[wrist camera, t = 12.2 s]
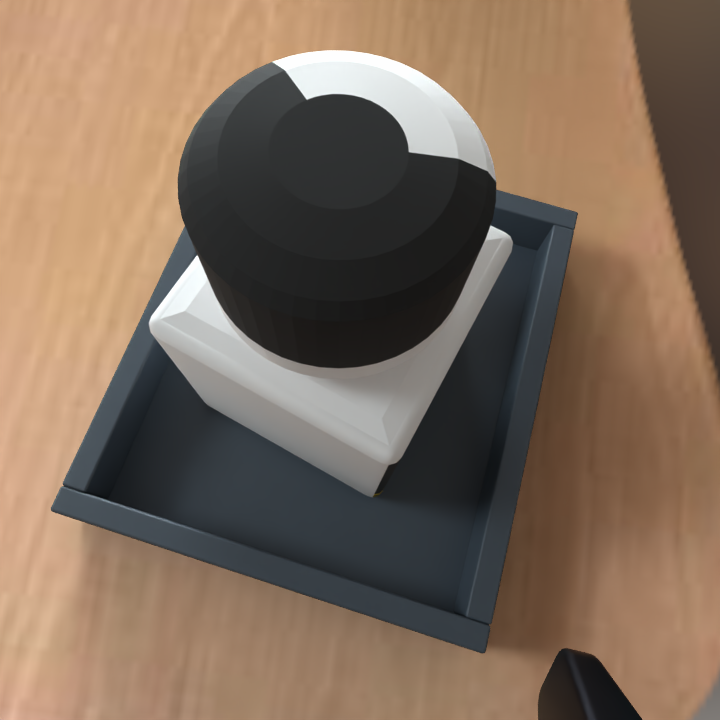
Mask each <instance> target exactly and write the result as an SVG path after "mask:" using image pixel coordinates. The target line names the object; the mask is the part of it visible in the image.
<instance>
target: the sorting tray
mask: <svg viewBox="0 0 720 720" xmlns="http://www.w3.org/2000/svg"><path fill="white" fill-rule="evenodd" d="M577 215H578V213H577V212H575V211H571V210H567V209H564V208H560V207H557V206H553V205H549V204H546V203H542V202H539V201H535V200H531V199H528V198H524V197H521V196H517V195H513V194H510V193H506V192H503V191H499V190H496V204H495V209H494V215H493V220H492V223H491V226H493V227H495V228H497V229H499V230H501V231H503V232H505V233H507V234H508V235H509V236H510V237H511V239H512V241H513V246H512V252H511V253H510V255H509V257H508V259H507V261H506V263H505V265H504V267H503V268H502V270H501V272H500V274H499V276H498V278H497V280H496V282H495V283H494V285H493V287H492V289H491V291H490V293H489V295H488V297H487V298H486V300H485V302H484V304H483V306H482V308H481V310H480V312H479V313H478V315H477V317H476V319H475V321H474V323H473V325H472V327H471V328H470V330H469V332H468V334H467V336H466V338H465V340H464V342H463V343H462V345H461V347H460V349H459V351H458V353H457V355H456V357H455V358H454V360H453V362H452V364H451V366H450V368H449V370H448V372H447V373H446V375H445V377H444V379H443V381H442V383H441V385H440V387H439V388H438V390H437V392H436V394H435V396H434V398H433V400H432V402H431V403H430V405H429V407H428V409H427V411H426V413H425V415H424V417H423V418H422V420H421V422H420V424H419V426H418V428H417V430H416V432H415V433H414V435H413V437H412V439H411V441H410V443H409V445H408V447H407V448H406V450H405V452H404V454H403V456H402V458H401V460H400V461H399V463H398V465H397V467H396V468H395V470H394V472H393V473H392V475H391V477H390V479H389V480H388V482H387V484H386V486H385V487H384V489H383V491H382V492H381V493H380V494H379V495H378V496H376V497H369V496H366V495H364V494H363V493H361V492H359V491H357V490H356V489H354V488H352V487H350V486H349V485H347V484H345V483H343V482H342V481H340V480H338V479H336V478H335V477H333V476H331V475H329V474H328V473H326V472H324V471H322V470H321V469H319V468H317V467H315V466H313V465H312V464H310V463H308V462H306V461H305V460H303V459H301V458H299V457H298V456H296V455H294V454H292V453H291V452H289V451H287V450H285V449H284V448H282V447H280V446H278V445H277V444H275V443H273V442H271V441H270V440H268V439H266V438H264V437H263V436H261V435H259V434H257V433H256V432H254V431H252V430H250V429H249V428H247V427H245V426H243V425H242V424H240V423H238V422H236V421H234V420H233V419H231V418H229V417H227V416H226V415H224V414H222V413H220V412H219V411H217V410H215V409H213V408H212V407H210V406H208V405H207V404H206V403H205V402H204V401H203V400H202V398H201V397H200V396H199V394H198V393H197V392H196V391H195V389H194V388H193V387H192V385H191V384H190V383H189V381H188V380H187V379H186V378H185V376H184V375H183V374H182V372H181V371H180V370H179V369H178V367H177V366H176V365H175V363H174V362H173V361H172V359H171V358H170V357H169V356H168V354H167V353H166V352H165V350H164V349H163V348H162V346H161V345H160V344H159V343H158V341H157V340H156V339H155V337H154V336H153V335H152V334H151V332H150V327H149V321H150V319H151V316H152V315H153V314H154V312H155V311H156V310H157V308H158V307H159V306H160V304H161V303H162V302H163V300H164V299H165V298H166V296H167V295H168V293H169V292H170V291H171V289H172V288H173V287H174V285H175V284H176V283H177V281H178V280H179V279H180V277H181V276H182V275H183V273H184V272H185V271H186V269H187V268H188V267H189V265H190V264H191V263H192V261H193V260H194V259H195V257H196V256H197V253H196V251H195V248H194V246H193V244H192V242H191V239H190V237H189V235H188V232H187V229H186V227H184V229H183V231H182V233H181V235H180V237H179V239H178V242H177V244H176V246H175V248H174V250H173V252H172V254H171V256H170V258H169V261H168V263H167V265H166V267H165V269H164V271H163V273H162V275H161V277H160V279H159V282H158V284H157V286H156V288H155V290H154V292H153V294H152V296H151V298H150V301H149V303H148V305H147V307H146V309H145V311H144V313H143V315H142V317H141V319H140V322H139V324H138V326H137V328H136V330H135V332H134V334H133V336H132V338H131V341H130V343H129V345H128V347H127V349H126V351H125V353H124V355H123V357H122V359H121V362H120V364H119V366H118V368H117V370H116V372H115V374H114V376H113V378H112V381H111V383H110V385H109V387H108V389H107V391H106V393H105V395H104V397H103V399H102V402H101V404H100V406H99V408H98V410H97V412H96V414H95V416H94V418H93V421H92V423H91V425H90V427H89V429H88V431H87V433H86V435H85V437H84V439H83V442H82V444H81V446H80V448H79V450H78V452H77V454H76V456H75V458H74V460H73V463H72V465H71V467H70V469H69V471H68V473H67V475H66V477H65V479H64V482H63V485H64V486H62V487H61V488H60V490H59V492H58V494H57V496H56V499H55V501H54V503H53V505H52V507H51V511H52V512H55V513H58V514H61V515H64V516H67V517H70V518H73V519H76V520H79V521H82V522H85V523H88V524H91V525H94V526H97V527H100V528H103V529H106V530H109V531H112V532H115V533H118V534H122V535H125V536H128V537H131V538H134V539H137V540H140V541H143V542H146V543H149V544H152V545H155V546H158V547H161V548H164V549H167V550H170V551H173V552H176V553H179V554H182V555H185V556H188V557H191V558H194V559H197V560H200V561H203V562H206V563H209V564H212V565H215V566H218V567H221V568H224V569H228V570H231V571H234V572H237V573H240V574H243V575H246V576H249V577H252V578H255V579H258V580H261V581H264V582H267V583H270V584H273V585H276V586H279V587H282V588H285V589H288V590H291V591H294V592H297V593H300V594H303V595H306V596H309V597H312V598H315V599H318V600H321V601H324V602H327V603H330V604H334V605H337V606H340V607H343V608H346V609H349V610H352V611H355V612H358V613H361V614H364V615H367V616H370V617H373V618H376V619H379V620H382V621H385V622H388V623H391V624H394V625H397V626H400V627H403V628H406V629H409V630H412V631H415V632H418V633H421V634H424V635H427V636H430V637H433V638H436V639H440V640H443V641H446V642H449V643H452V644H455V645H458V646H461V647H464V648H467V649H470V650H473V651H476V652H479V653H485V651H486V647H487V643H488V638H489V633H490V626H489V625H490V624H491V623H492V619H493V615H494V610H495V605H496V600H497V595H498V591H499V586H500V581H501V576H502V572H503V567H504V562H505V557H506V553H507V548H508V543H509V538H510V534H511V529H512V524H513V519H514V514H515V510H516V505H517V500H518V495H519V491H520V486H521V481H522V476H523V472H524V467H525V462H526V457H527V453H528V448H529V443H530V438H531V433H532V429H533V424H534V419H535V414H536V410H537V405H538V400H539V395H540V391H541V386H542V381H543V376H544V372H545V367H546V362H547V357H548V352H549V348H550V343H551V338H552V333H553V329H554V324H555V319H556V314H557V310H558V305H559V300H560V295H561V291H562V286H563V281H564V276H565V271H566V267H567V262H568V257H569V252H570V248H571V243H572V238H573V233H574V229H575V224H576V220H577Z"/></svg>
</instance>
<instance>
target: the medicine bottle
mask: <svg viewBox="0 0 720 720" xmlns="http://www.w3.org/2000/svg"><path fill="white" fill-rule="evenodd" d="M178 199H179V204H180V210H181V215H182V219H183V221H184V224H185V227H186V229H187V232H188V235H189V237H190V239H191V242H192V244H193V246H194V248H195V251H196V253H197V256H196V257H195V259H194V260H193V261H192V263H191V264H190V265H189V267H188V268H187V269H186V271H185V272H184V273H183V275H182V276H181V277H180V279H179V280H178V281H177V283H176V284H175V285H174V287H173V288H172V289H171V291H170V292H169V293H168V295H167V296H166V298H165V299H164V300H163V302H162V303H161V304H160V306H159V307H158V308H157V310H156V311H155V312H154V314H153V315H152V316H151V319H150V321H149V327H150V332H151V334H152V335H153V336H154V337H155V339H156V340H157V341H158V343H159V344H160V345H161V346H162V348H163V349H164V350H165V352H166V353H167V354H168V356H169V357H170V358H171V359H172V361H173V362H174V363H175V365H176V366H177V367H178V369H179V370H180V371H181V372H182V374H183V375H184V376H185V378H186V379H187V380H188V381H189V383H190V384H191V385H192V387H193V388H194V389H195V391H196V392H197V393H198V394H199V396H200V397H201V398H202V400H203V401H204V402H205V403H206V404H207V405H208V406H210V407H212V408H213V409H215V410H217V411H219V412H220V413H222V414H224V415H226V416H227V417H229V418H231V419H233V420H234V421H236V422H238V423H240V424H242V425H243V426H245V427H247V428H249V429H250V430H252V431H254V432H256V433H257V434H259V435H261V436H263V437H264V438H266V439H268V440H270V441H271V442H273V443H275V444H277V445H278V446H280V447H282V448H284V449H285V450H287V451H289V452H291V453H292V454H294V455H296V456H298V457H299V458H301V459H303V460H305V461H306V462H308V463H310V464H312V465H313V466H315V467H317V468H319V469H321V470H322V471H324V472H326V473H328V474H329V475H331V476H333V477H335V478H336V479H338V480H340V481H342V482H343V483H345V484H347V485H349V486H350V487H352V488H354V489H356V490H357V491H359V492H361V493H363V494H364V495H366V496H369V497H376V496H378V495H379V494H380V493H381V492H382V491H383V489H384V487H385V486H386V484H387V482H388V480H389V479H390V477H391V475H392V473H393V472H394V470H395V468H396V467H397V465H398V463H399V461H400V460H401V458H402V456H403V454H404V452H405V450H406V448H407V447H408V445H409V443H410V441H411V439H412V437H413V435H414V433H415V432H416V430H417V428H418V426H419V424H420V422H421V420H422V418H423V417H424V415H425V413H426V411H427V409H428V407H429V405H430V403H431V402H432V400H433V398H434V396H435V394H436V392H437V390H438V388H439V387H440V385H441V383H442V381H443V379H444V377H445V375H446V373H447V372H448V370H449V368H450V366H451V364H452V362H453V360H454V358H455V357H456V355H457V353H458V351H459V349H460V347H461V345H462V343H463V342H464V340H465V338H466V336H467V334H468V332H469V330H470V328H471V327H472V325H473V323H474V321H475V319H476V317H477V315H478V313H479V312H480V310H481V308H482V306H483V304H484V302H485V300H486V298H487V297H488V295H489V293H490V291H491V289H492V287H493V285H494V283H495V282H496V280H497V278H498V276H499V274H500V272H501V270H502V268H503V267H504V265H505V263H506V261H507V259H508V257H509V255H510V253H511V252H512V246H513V241H512V239H511V237H510V236H509V235H508V234H507V233H505V232H503V231H501V230H499V229H497V228H495V227H493V226H491V223H492V220H493V215H494V209H495V204H496V177H495V171H494V164H493V161H492V158H491V155H490V152H489V148H488V146H487V144H486V142H485V140H484V138H483V136H482V134H481V132H480V130H479V128H478V127H477V125H476V124H475V123H474V121H473V120H472V118H471V117H470V115H469V114H468V113H467V112H466V111H465V110H464V109H463V107H462V106H461V105H460V104H459V103H458V102H457V101H456V100H455V99H454V98H453V97H452V96H451V95H450V94H449V93H448V92H447V91H446V90H444V89H443V88H442V87H441V86H440V85H438V84H437V83H436V82H434V81H433V80H431V79H430V78H428V77H427V76H425V75H424V74H422V73H420V72H418V71H416V70H414V69H412V68H410V67H408V66H406V65H404V64H402V63H399V62H396V61H393V60H390V59H388V58H385V57H380V56H376V55H372V54H368V53H360V52H353V51H318V52H308V53H303V54H298V55H293V56H289V57H286V58H283V59H280V60H276V61H273V62H271V63H269V64H266V65H264V66H262V67H260V68H258V69H255V70H254V71H252V72H250V73H249V74H247V75H246V76H244V77H242V78H241V79H239V80H238V81H237V82H235V83H234V84H233V85H232V86H230V87H229V88H228V89H227V90H225V91H224V92H223V93H222V94H221V95H220V96H219V97H218V98H217V99H216V100H215V101H214V102H213V103H212V104H211V105H210V106H209V107H208V108H207V110H206V111H205V112H204V113H203V115H202V116H201V118H200V119H199V120H198V122H197V123H196V125H195V126H194V128H193V130H192V132H191V134H190V136H189V138H188V140H187V142H186V145H185V148H184V151H183V154H182V157H181V161H180V167H179V174H178Z"/></svg>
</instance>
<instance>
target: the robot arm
mask: <svg viewBox="0 0 720 720" xmlns="http://www.w3.org/2000/svg"><path fill="white" fill-rule="evenodd" d="M538 720H642V718H641V717H640V716H639V714H638V713H637V711H636V710H635V709H634V707H633V706H632V705H631V703H630V702H629V700H628V699H627V698H626V696H625V695H624V694H623V692H622V691H621V689H620V688H619V687H618V685H617V684H616V682H615V681H614V680H613V678H612V677H611V676H610V674H609V673H608V671H607V670H606V669H605V667H604V666H603V665H602V663H601V662H600V661H599V660H598V659H597V658H596V657H595V656H594V655H592V654H589V653H585V652H581V651H577V650H572V649H568V648H564V649H562V650H561V651H559V653H558V654H557V656H556V658H555V660H554V662H553V664H552V666H551V668H550V670H549V672H548V674H547V676H546V679H545V681H544V683H543V685H542V687H541V690H540V693H539V699H538Z"/></svg>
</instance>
